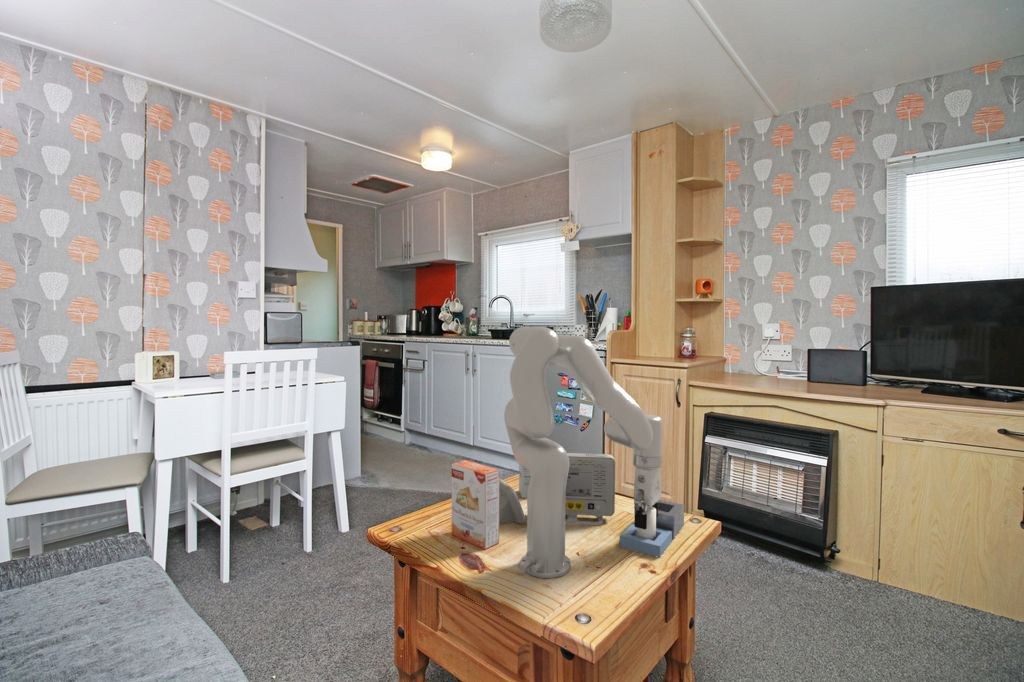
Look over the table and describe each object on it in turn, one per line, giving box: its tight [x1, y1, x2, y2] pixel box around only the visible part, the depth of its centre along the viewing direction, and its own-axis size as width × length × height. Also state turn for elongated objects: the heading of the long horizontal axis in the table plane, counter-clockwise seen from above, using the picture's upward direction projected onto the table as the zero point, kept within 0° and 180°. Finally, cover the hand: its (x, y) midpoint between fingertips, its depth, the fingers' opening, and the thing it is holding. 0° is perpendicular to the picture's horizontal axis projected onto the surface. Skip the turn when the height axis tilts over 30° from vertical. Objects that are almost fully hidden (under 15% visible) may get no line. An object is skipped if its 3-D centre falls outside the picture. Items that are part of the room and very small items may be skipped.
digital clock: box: [499, 477, 527, 525], centre depth 155 cm, size 16×9×11 cm, turn 10°
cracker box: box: [451, 459, 500, 550], centre depth 138 cm, size 14×6×21 cm, turn 47°
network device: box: [565, 452, 616, 526], centre depth 154 cm, size 26×9×20 cm, turn 84°
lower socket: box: [619, 522, 673, 558], centre depth 136 cm, size 11×11×3 cm
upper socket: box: [640, 499, 685, 540], centre depth 147 cm, size 11×11×6 cm
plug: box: [637, 506, 656, 541], centre depth 136 cm, size 5×5×10 cm
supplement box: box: [518, 464, 531, 499], centre depth 175 cm, size 7×7×13 cm
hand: (646, 521), depth 136 cm, fingers open, 9 cm apart
